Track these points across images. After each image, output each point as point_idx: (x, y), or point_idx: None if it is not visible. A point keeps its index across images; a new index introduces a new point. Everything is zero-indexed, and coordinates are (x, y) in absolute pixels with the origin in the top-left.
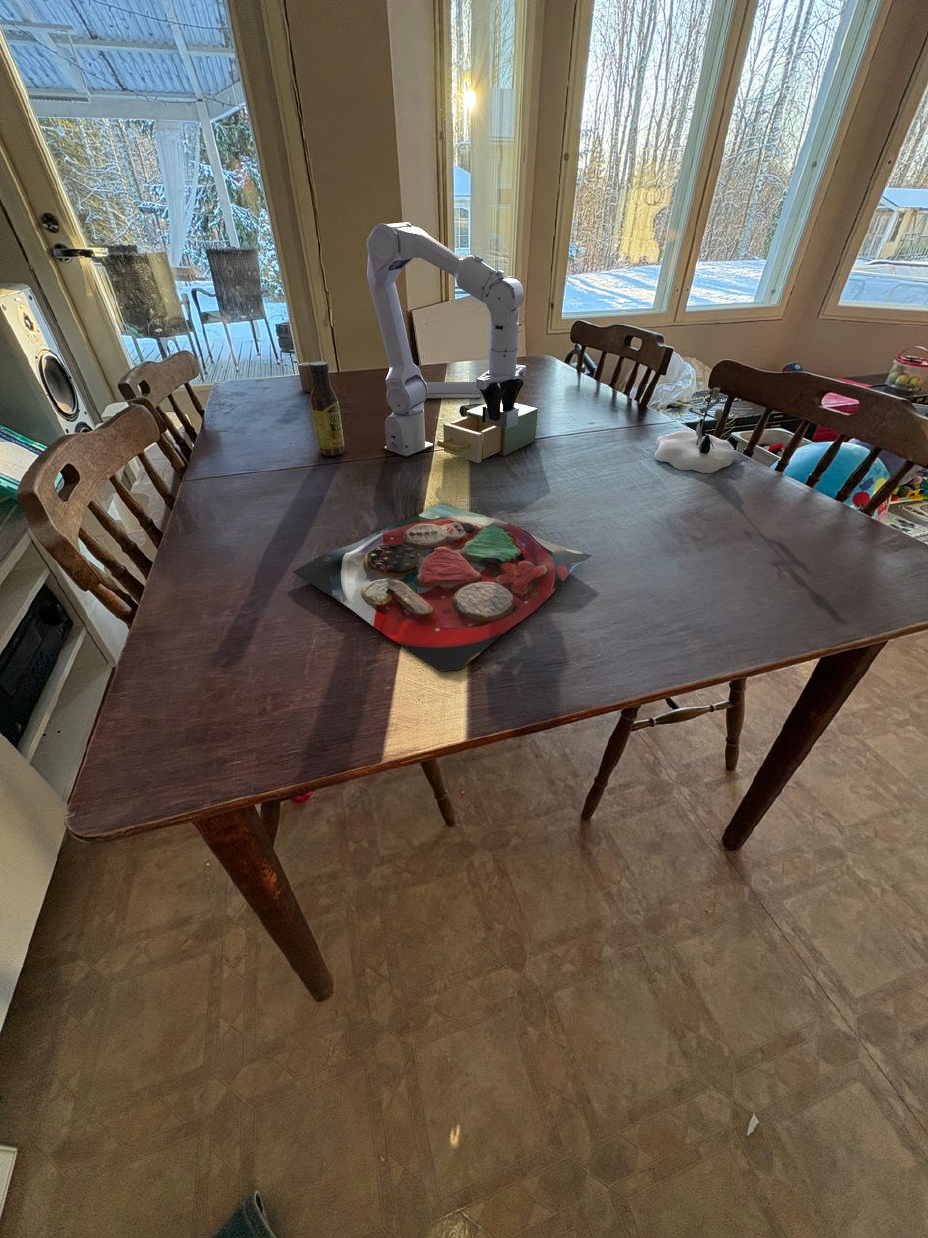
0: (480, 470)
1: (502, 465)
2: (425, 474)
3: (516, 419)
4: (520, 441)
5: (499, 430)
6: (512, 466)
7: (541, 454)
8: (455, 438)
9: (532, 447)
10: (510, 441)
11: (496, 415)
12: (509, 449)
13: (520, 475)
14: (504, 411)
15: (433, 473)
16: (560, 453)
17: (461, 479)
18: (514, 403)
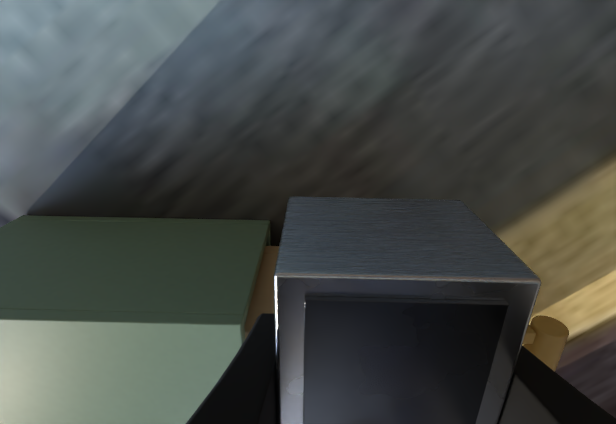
0: (471, 201)
1: (365, 159)
2: (612, 329)
3: (317, 215)
4: (130, 231)
5: (273, 309)
6: (345, 115)
7: (120, 90)
8: None
9: (91, 179)
10: (209, 244)
11: (527, 352)
12: (225, 226)
13: (419, 8)
14: (517, 326)
15: (590, 315)
16: (23, 11)
17: (600, 204)
18: (222, 382)
